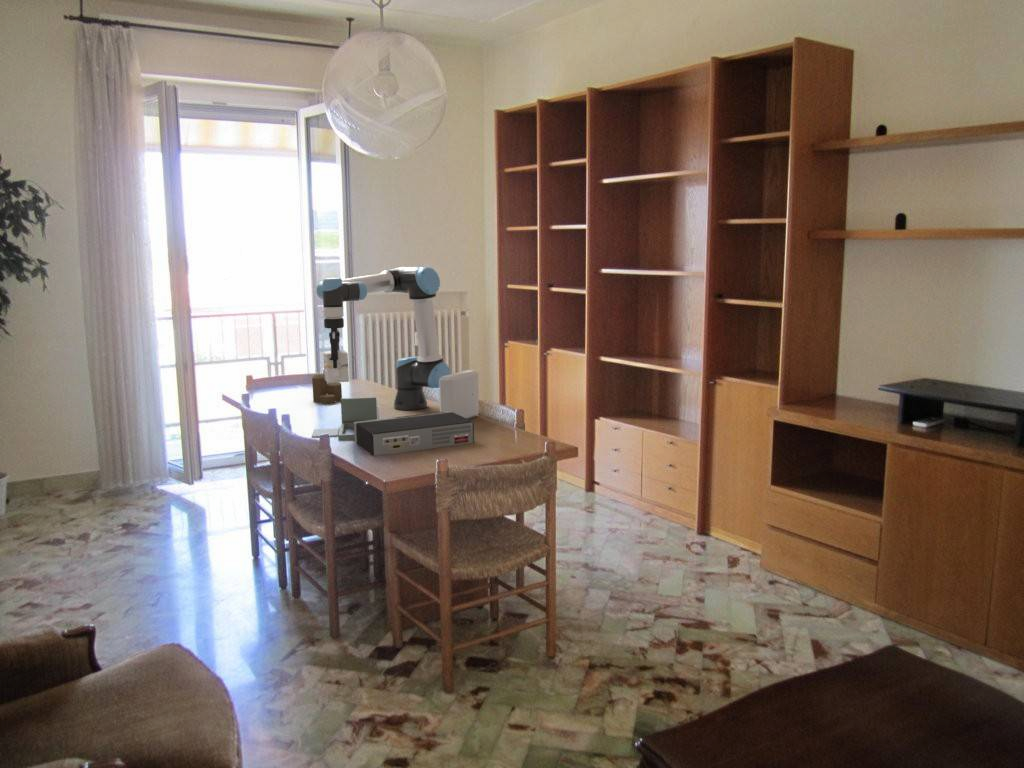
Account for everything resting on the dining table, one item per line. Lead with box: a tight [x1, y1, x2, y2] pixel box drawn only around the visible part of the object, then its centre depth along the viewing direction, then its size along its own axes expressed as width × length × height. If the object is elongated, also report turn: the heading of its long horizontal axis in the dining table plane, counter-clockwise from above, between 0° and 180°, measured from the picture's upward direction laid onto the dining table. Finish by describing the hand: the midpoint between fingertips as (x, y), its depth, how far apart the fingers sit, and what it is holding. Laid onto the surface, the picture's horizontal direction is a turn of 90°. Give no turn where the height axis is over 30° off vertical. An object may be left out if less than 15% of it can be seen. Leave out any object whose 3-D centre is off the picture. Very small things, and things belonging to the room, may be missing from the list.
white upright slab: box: [438, 369, 480, 420], centre depth 355 cm, size 21×8×20 cm, turn 149°
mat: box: [311, 427, 340, 438], centre depth 334 cm, size 10×12×1 cm
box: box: [353, 411, 475, 457], centre depth 318 cm, size 40×25×9 cm, turn 117°
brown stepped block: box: [311, 370, 343, 405], centre depth 399 cm, size 14×14×15 cm
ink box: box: [322, 349, 350, 383], centre depth 329 cm, size 9×8×12 cm
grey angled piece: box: [337, 396, 380, 441], centre depth 334 cm, size 16×24×12 cm, turn 8°
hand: (336, 374), depth 329 cm, fingers closed on ink box, 9 cm apart
